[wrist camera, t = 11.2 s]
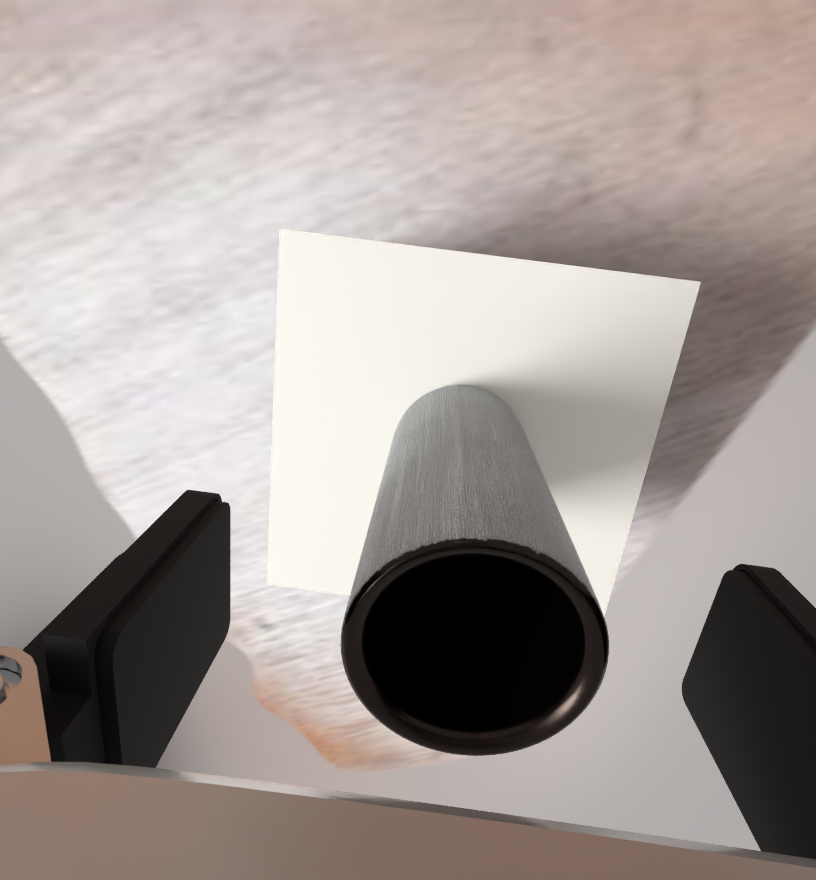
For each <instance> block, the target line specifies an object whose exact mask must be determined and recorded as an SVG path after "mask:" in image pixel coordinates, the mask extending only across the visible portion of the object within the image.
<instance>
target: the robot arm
mask: <svg viewBox="0 0 816 880" xmlns="http://www.w3.org/2000/svg"><path fill="white" fill-rule="evenodd" d="M229 624H230V506H229V504H228V503H226V502H222V500H221V497H220V495H219V494H216V493H209V492H201V491H194V490H187V491H186V492H184V493H183V494H182V495H181V496H180V497H179V498H178V499H177V500H176V501H175V502H174V503H173V504H172V505H171V506H170V507H169V508H168V509H167V510H166V511H165V512H164V513H163V514H162V515H161V516H160V517H159V518H158V519H157V520H156V521H155V522H154V523H153V524H152V525H151V526H150V527H149V528H148V529H147V530H146V531H145V532H144V533H143V534H142V535H141V536H140V537H139V538H138V539H137V540H136V541H135V542H134V543H133V544H132V545H131V546H130V547H129V548H128V549H127V550H126V551H125V552H124V553H122V554H121V555H119V556H118V557H117V558H115V559H114V560H113V561H112V562H111V564H109V565H108V566H107V568H105V569H104V570H103V571H102V572H101V573H100V574H99V575H98V576H97V577H96V578H95V579H94V580H93V581H92V582H91V583H90V584H89V585H88V586H87V587H86V588H85V589H84V590H83V591H82V592H81V593H80V594H79V595H78V596H77V597H76V598H75V599H74V600H73V601H72V602H71V603H70V604H69V605H68V606H67V607H66V608H65V609H64V610H63V611H62V612H61V613H60V614H59V615H58V616H57V617H56V618H55V619H54V620H53V621H52V622H51V623H50V624H49V625H48V626H46V628H44V629H43V630H42V631H41V632H40V633H39V634H38V635H37V636H36V637H35V638H34V639H33V640H32V641H31V642H30V643H29V644H28V645H27V646H26V647H25V648H24V649H23V650H20V649H16V648H10V647H6V646H5V647H0V880H816V608H815V607H814V606H813V605H812V604H811V603H810V602H809V601H808V600H807V599H806V598H805V597H804V596H803V595H802V594H801V593H800V592H799V591H798V590H797V589H796V588H795V587H794V586H793V585H792V584H791V583H790V582H789V581H788V580H787V579H786V578H785V577H784V576H783V575H782V574H781V573H780V572H779V571H777V570H776V569H774V568H768V567H760V566H753V565H746V564H740V565H737V566H736V567H735V568H734V569H733V570H730V571H727V572H726V573H725V574H724V576H723V578H722V580H721V583H720V586H719V588H718V591H717V593H716V596H715V598H714V601H713V604H712V606H711V609H710V611H709V614H708V617H707V619H706V622H705V624H704V627H703V630H702V632H701V635H700V637H699V640H698V643H697V645H696V648H695V650H694V653H693V656H692V658H691V661H690V663H689V666H688V669H687V671H686V674H685V676H684V679H683V683H682V695H683V699H684V702H685V704H686V706H687V708H688V710H689V712H690V714H691V716H692V718H693V720H694V722H695V723H696V725H697V727H698V729H699V731H700V733H701V735H702V737H703V739H704V741H705V743H706V745H707V747H708V749H709V751H710V753H711V754H712V756H713V758H714V760H715V762H716V764H717V766H718V768H719V770H720V772H721V774H722V776H723V778H724V780H725V782H726V784H727V786H728V787H729V789H730V791H731V793H732V795H733V797H734V799H735V801H736V803H737V805H738V807H739V809H740V811H741V813H742V815H743V816H744V818H745V820H746V822H747V824H748V826H749V828H750V830H751V832H752V834H753V836H754V838H755V840H756V841H757V844H758V846H759V848H760V850H761V851H755V850H748V849H742V848H735V847H727V846H722V845H714V844H708V843H701V842H694V841H688V840H681V839H674V838H668V837H661V836H654V835H647V834H640V833H633V832H626V831H619V830H612V829H605V828H598V827H591V826H584V825H577V824H570V823H563V822H556V821H549V820H542V819H535V818H528V817H521V816H513V815H507V814H500V813H493V812H485V811H478V810H471V809H464V808H457V807H449V806H443V805H436V804H428V803H421V802H414V801H406V800H399V799H392V798H384V797H377V796H369V795H362V794H355V793H347V792H340V791H333V790H325V789H318V788H310V787H303V786H295V785H288V784H281V783H273V782H266V781H259V780H250V779H242V778H234V777H226V776H217V775H209V774H200V773H192V772H184V771H175V770H166V769H157V768H156V766H157V764H158V762H159V760H160V758H161V756H162V755H163V753H164V751H165V749H166V747H167V745H168V743H169V742H170V739H171V738H172V736H173V734H174V732H175V731H176V729H177V727H178V725H179V723H180V721H181V719H182V718H183V716H184V714H185V712H186V710H187V708H188V706H189V705H190V703H191V701H192V699H193V697H194V695H195V693H196V691H197V690H198V688H199V686H200V684H201V682H202V681H203V679H204V677H205V675H206V673H207V671H208V669H209V668H210V666H211V664H212V662H213V660H214V658H215V657H216V655H217V653H218V651H219V649H220V647H221V645H222V643H223V642H224V640H225V638H226V635H227V632H228V629H229Z"/></svg>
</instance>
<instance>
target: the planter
mask: <svg viewBox="0 0 816 880" xmlns="http://www.w3.org/2000/svg"><path fill="white" fill-rule="evenodd" d="M341 654H342V660H343V665H344V668H345V672H346V675H347V677H348V680H349V682H350V684H351V686H352V688H353V690H354V692H355V693H356V695H357V697H358V698H359V700H360V701H361V702H362V704H363V705H364V706H365V707H366V709H367V710H368V711H369V712H370V713H371V714H372V715H373V716H374V717H375V718H376V719H377V720H379V721H380V722H381V723H382V724H383V725H385V726H386V727H387V728H389V729H390V730H392V731H393V732H395V733H396V734H398V735H400V736H401V737H403V738H405V739H407V740H409V741H411V742H413V743H416V744H418V745H421V746H424V747H426V748H429V749H433V750H436V751H441V752H445V753H451V754H458V755H471V756H484V755H496V754H503V753H508V752H513V751H517V750H521V749H524V748H527V747H530V746H533V745H535V744H538V743H540V742H542V741H544V740H546V739H548V738H550V737H552V736H554V735H555V734H557V733H559V732H560V731H562V730H563V729H564V728H566V727H567V726H568V725H570V724H571V723H572V722H573V721H574V720H575V719H576V718H577V717H578V716H579V715H580V714H581V713H582V712H583V711H584V710H585V709H586V707H587V706H588V705H589V704H590V702H591V701H592V699H593V698H594V696H595V695H596V693H597V691H598V689H599V687H600V685H601V683H602V680H603V677H604V674H605V671H606V667H607V663H608V655H609V637H608V630H607V625H606V622H605V618H604V615H603V613H602V610H601V607H600V605H599V602H598V600H597V598H596V595H595V593H594V591H593V588H592V586H591V584H590V581H589V579H588V577H587V574H586V572H585V570H584V567H583V565H582V563H581V561H580V558H579V556H578V554H577V551H576V549H575V547H574V544H573V542H572V540H571V538H570V535H569V533H568V531H567V528H566V526H565V524H564V521H563V519H562V517H561V515H560V512H559V510H558V508H557V505H556V503H555V501H554V498H553V496H552V494H551V492H550V489H549V487H548V485H547V482H546V480H545V478H544V475H543V473H542V471H541V469H540V466H539V464H538V462H537V459H536V457H535V455H534V452H533V450H532V448H531V446H530V443H529V441H528V439H527V436H526V434H525V432H524V430H523V427H522V425H521V423H520V421H519V420H518V418H517V417H516V415H515V414H514V412H513V411H512V410H511V408H510V407H509V406H508V405H507V404H506V403H505V402H504V401H503V400H501V399H500V398H499V397H497V396H496V395H494V394H492V393H490V392H488V391H486V390H483V389H480V388H477V387H473V386H466V385H454V386H446V387H442V388H439V389H436V390H433V391H431V392H429V393H427V394H425V395H423V396H422V397H420V398H419V399H417V400H416V401H415V402H414V403H413V404H412V405H411V406H410V407H409V408H408V409H407V410H406V412H405V413H404V415H403V416H402V418H401V420H400V422H399V424H398V426H397V428H396V430H395V433H394V436H393V440H392V443H391V447H390V451H389V454H388V458H387V462H386V465H385V469H384V473H383V476H382V480H381V484H380V487H379V491H378V495H377V498H376V502H375V506H374V509H373V513H372V517H371V520H370V524H369V528H368V531H367V535H366V539H365V542H364V546H363V550H362V553H361V557H360V561H359V564H358V568H357V572H356V575H355V579H354V583H353V586H352V590H351V594H350V597H349V601H348V605H347V609H346V612H345V617H344V621H343V626H342V632H341Z"/></svg>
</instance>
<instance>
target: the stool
mask: <svg viewBox="0 0 816 880" xmlns="http://www.w3.org/2000/svg"><path fill="white" fill-rule="evenodd" d="M700 284H701V282H698V281H690V280H683V279H675V278H667V277H659V276H651V275H643V274H636V273H628V272H620V271H612V270H604V269H596V268H588V267H580V266H572V265H564V264H556V263H548V262H541V261H533V260H525V259H517V258H509V257H501V256H493V255H485V254H477V253H469V252H461V251H453V250H446V249H438V248H430V247H422V246H414V245H406V244H398V243H390V242H382V241H374V240H366V239H358V238H350V237H343V236H335V235H327V234H319V233H311V232H303V231H295V230H287V229H279V257H278V284H277V312H276V339H275V367H274V394H273V422H272V449H271V477H270V504H269V532H268V559H267V584H268V585H275V586H282V587H289V588H296V589H304V590H311V591H318V592H325V593H332V594H339V595H346V596H350V594H351V590H352V586H353V583H354V579H355V575H356V572H357V568H358V564H359V561H360V557H361V553H362V550H363V546H364V542H365V539H366V535H367V531H368V528H369V524H370V520H371V517H372V513H373V509H374V506H375V502H376V498H377V495H378V491H379V487H380V484H381V480H382V476H383V473H384V469H385V465H386V462H387V458H388V454H389V451H390V447H391V443H392V440H393V436H394V433H395V430H396V428H397V426H398V424H399V422H400V420H401V418H402V416H403V415H404V413H405V412H406V410H407V409H408V408H409V407H410V406H411V405H412V404H413V403H414V402H415V401H416V400H417V399H419V398H420V397H422V396H423V395H425V394H427V393H429V392H431V391H433V390H436V389H439V388H442V387H446V386H454V385H466V386H473V387H477V388H480V389H483V390H486V391H488V392H490V393H492V394H494V395H496V396H497V397H499V398H500V399H501V400H503V401H504V402H505V403H506V404H507V405H508V406H509V407H510V408H511V410H512V411H513V412H514V414H515V415H516V417H517V418H518V420H519V421H520V423H521V425H522V427H523V430H524V432H525V434H526V436H527V439H528V441H529V443H530V446H531V448H532V450H533V452H534V455H535V457H536V459H537V462H538V464H539V466H540V469H541V471H542V473H543V475H544V478H545V480H546V482H547V485H548V487H549V489H550V492H551V494H552V496H553V498H554V501H555V503H556V505H557V508H558V510H559V512H560V515H561V517H562V519H563V521H564V524H565V526H566V528H567V531H568V533H569V535H570V538H571V540H572V542H573V544H574V547H575V549H576V551H577V554H578V556H579V558H580V561H581V563H582V565H583V567H584V570H585V572H586V574H587V577H588V579H589V581H590V584H591V586H592V588H593V591H594V593H595V595H596V598H597V600H598V602H599V605H600V607H601V610H602V613H603V615H604V616H605V612H606V609H607V605H608V602H609V598H610V595H611V592H612V588H613V585H614V581H615V578H616V574H617V571H618V567H619V564H620V560H621V557H622V554H623V550H624V547H625V543H626V540H627V536H628V533H629V529H630V526H631V522H632V519H633V516H634V512H635V509H636V505H637V502H638V498H639V495H640V491H641V488H642V484H643V481H644V478H645V474H646V471H647V467H648V464H649V460H650V457H651V453H652V450H653V446H654V443H655V440H656V436H657V433H658V429H659V426H660V422H661V419H662V415H663V412H664V408H665V405H666V401H667V398H668V395H669V391H670V388H671V384H672V381H673V377H674V374H675V370H676V367H677V363H678V360H679V357H680V353H681V350H682V346H683V343H684V339H685V336H686V332H687V329H688V325H689V322H690V319H691V315H692V312H693V308H694V305H695V301H696V298H697V294H698V291H699V287H700Z"/></svg>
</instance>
